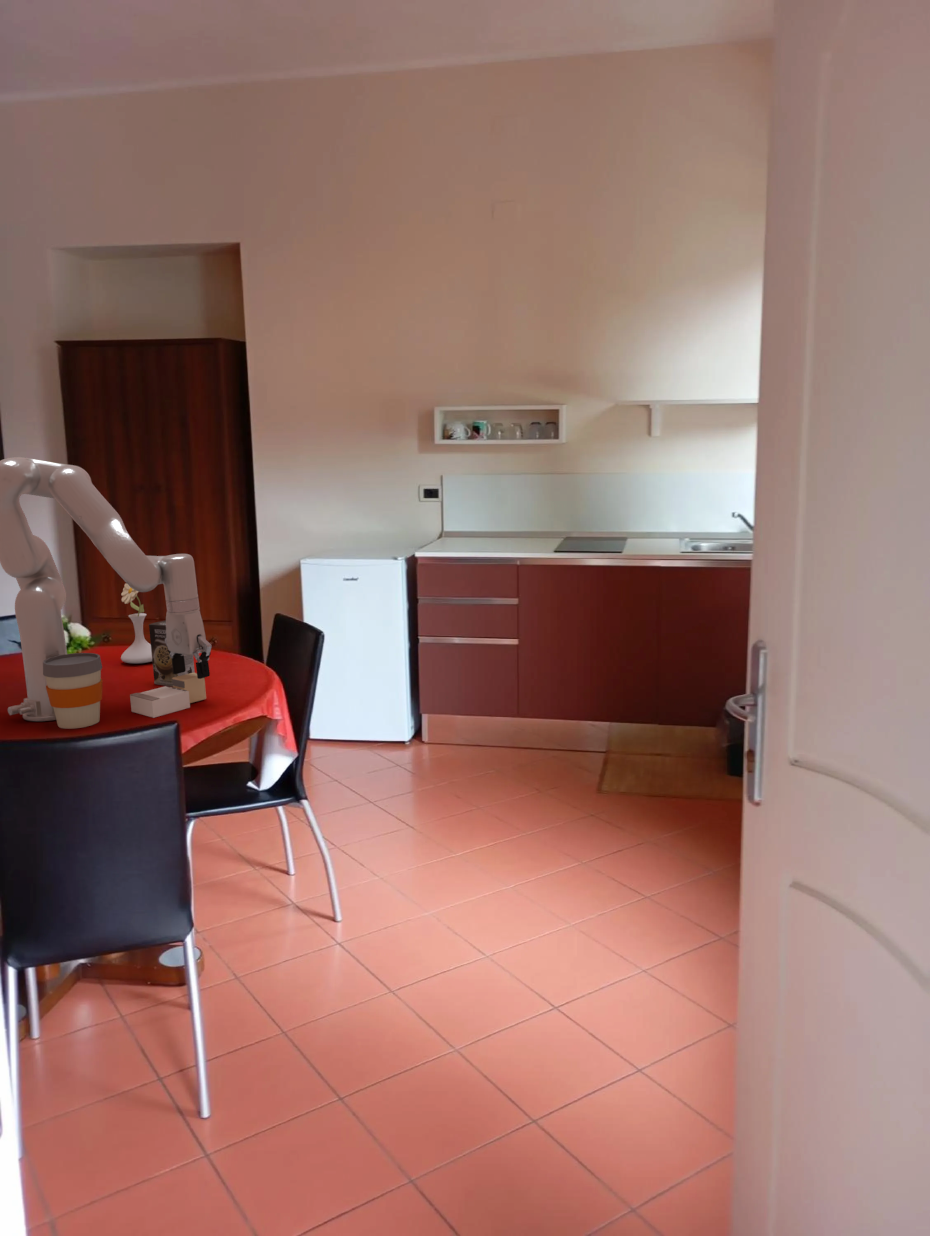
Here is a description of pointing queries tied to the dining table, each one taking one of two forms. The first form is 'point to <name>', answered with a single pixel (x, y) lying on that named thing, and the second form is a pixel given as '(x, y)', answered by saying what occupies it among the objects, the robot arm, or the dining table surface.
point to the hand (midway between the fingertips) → (191, 675)
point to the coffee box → (165, 656)
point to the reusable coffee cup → (74, 688)
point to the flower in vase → (136, 631)
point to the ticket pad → (160, 701)
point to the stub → (191, 686)
